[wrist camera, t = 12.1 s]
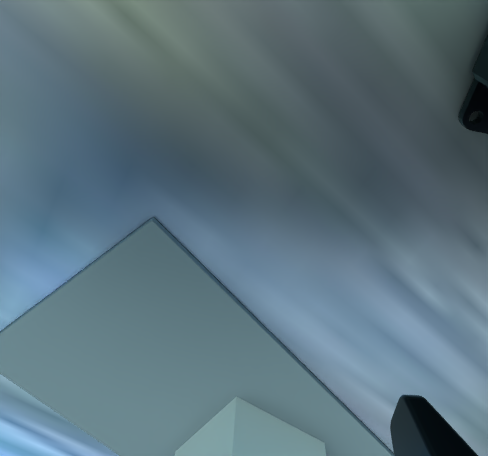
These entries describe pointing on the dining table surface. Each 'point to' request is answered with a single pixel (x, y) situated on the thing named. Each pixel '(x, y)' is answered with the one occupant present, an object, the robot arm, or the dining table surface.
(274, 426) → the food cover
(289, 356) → the placemat
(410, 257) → the dining table surface
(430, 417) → the robot arm
